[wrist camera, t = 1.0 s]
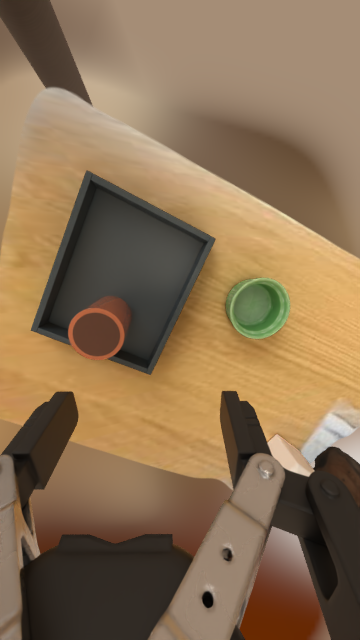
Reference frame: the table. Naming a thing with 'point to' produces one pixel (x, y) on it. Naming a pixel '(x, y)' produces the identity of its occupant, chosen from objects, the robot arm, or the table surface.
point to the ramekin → (258, 307)
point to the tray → (123, 268)
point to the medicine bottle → (289, 456)
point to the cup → (100, 328)
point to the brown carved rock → (341, 469)
